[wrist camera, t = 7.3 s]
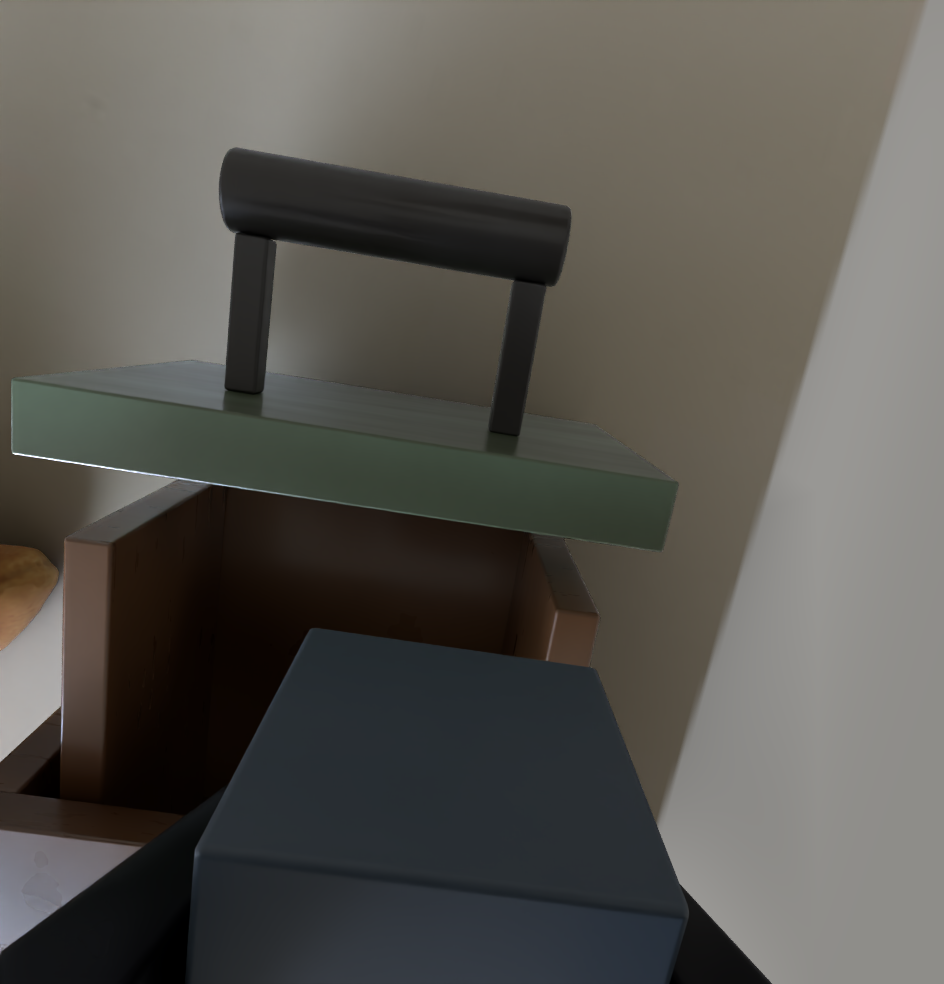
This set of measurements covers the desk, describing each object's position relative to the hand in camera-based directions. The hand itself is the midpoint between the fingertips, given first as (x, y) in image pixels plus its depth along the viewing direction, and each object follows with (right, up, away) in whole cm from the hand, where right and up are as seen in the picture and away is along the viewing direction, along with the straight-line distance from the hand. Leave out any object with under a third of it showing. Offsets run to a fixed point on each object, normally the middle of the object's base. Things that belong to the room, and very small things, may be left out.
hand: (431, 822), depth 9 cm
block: (0, 0, +1) cm, 1 cm away
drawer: (-2, +3, +9) cm, 10 cm away
